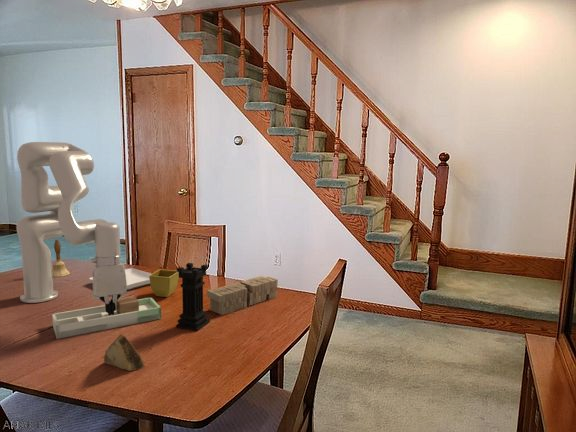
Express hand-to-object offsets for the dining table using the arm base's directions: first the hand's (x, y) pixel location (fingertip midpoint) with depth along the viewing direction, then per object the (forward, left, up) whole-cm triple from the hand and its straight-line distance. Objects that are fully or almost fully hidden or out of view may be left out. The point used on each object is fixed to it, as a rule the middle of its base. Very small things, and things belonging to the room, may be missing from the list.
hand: (110, 313), depth 147 cm
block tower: (+6, +46, -3) cm, 47 cm away
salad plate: (-39, +14, -3) cm, 42 cm away
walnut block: (0, +5, -1) cm, 6 cm away
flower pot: (-17, +24, -3) cm, 29 cm away
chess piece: (+16, +23, -3) cm, 28 cm away
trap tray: (0, -1, -3) cm, 3 cm away
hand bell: (-66, -8, -3) cm, 67 cm away
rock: (+32, -3, -3) cm, 32 cm away
